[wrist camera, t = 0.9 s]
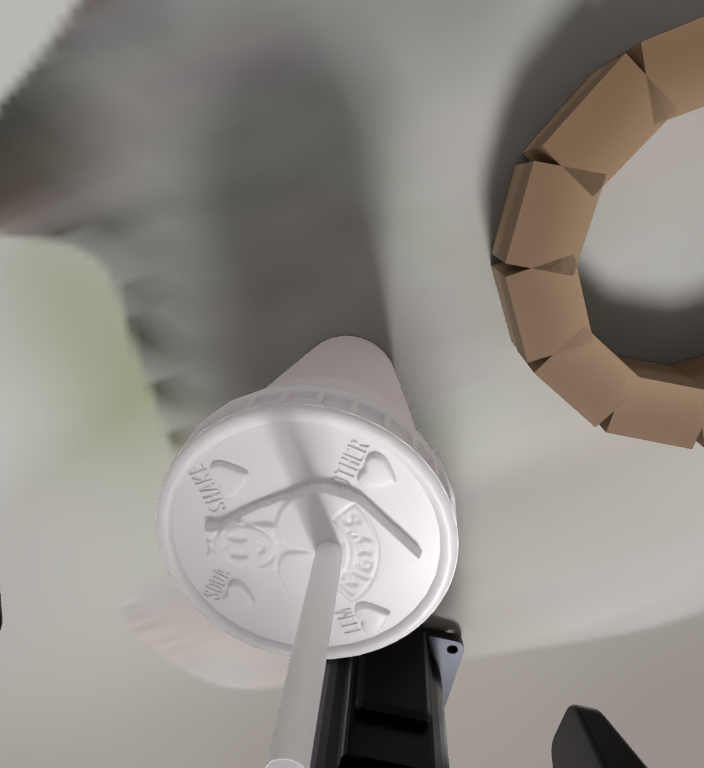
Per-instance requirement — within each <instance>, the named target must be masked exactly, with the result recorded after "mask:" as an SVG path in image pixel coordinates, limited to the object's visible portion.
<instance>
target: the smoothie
mask: <svg viewBox="0 0 704 768" xmlns="http://www.w3.org/2000/svg"><path fill="white" fill-rule="evenodd" d="M156 534H157V539H158V544H159V548H160V551H161V555H162V558H163V560H164V563H165V565H166V567H167V570H168V572H169V573H170V575H171V577H172V579H173V581H174V582H175V584H176V585H177V587H178V588H179V590H180V591H181V592H182V594H183V595H184V596H185V597H186V598H187V600H188V601H189V602H190V603H191V604H192V605H193V606H194V607H195V608H196V609H197V610H198V611H199V612H200V613H201V614H202V615H203V616H204V617H205V618H206V619H208V620H209V621H210V622H212V623H213V624H214V625H216V626H217V627H219V628H220V629H222V630H223V631H225V632H226V633H228V634H229V635H231V636H233V637H235V638H237V639H239V640H241V641H243V642H245V643H247V644H249V645H251V646H254V647H256V648H260V649H263V650H266V651H269V652H272V653H276V654H279V655H284V656H291V659H290V663H289V667H288V671H287V676H286V680H285V684H284V688H283V693H282V697H281V702H280V706H279V710H278V714H277V719H276V723H275V727H274V732H273V736H272V740H271V745H270V749H269V753H268V757H267V761H266V766H265V768H310V762H311V756H312V749H313V743H314V737H315V730H316V724H317V717H318V711H319V704H320V698H321V692H322V685H323V679H324V672H325V666H326V660H327V659H337V658H345V657H351V656H358V655H362V654H365V653H368V652H372V651H375V650H378V649H381V648H383V647H385V646H388V645H390V644H392V643H394V642H396V641H398V640H399V639H401V638H403V637H405V636H406V635H408V634H409V633H411V632H412V631H413V630H415V629H416V628H417V627H418V626H420V625H421V624H422V623H423V622H424V621H425V620H426V619H427V618H428V617H429V616H430V615H431V614H432V613H433V612H434V610H435V609H436V608H437V606H438V605H439V604H440V602H441V601H442V599H443V597H444V596H445V594H446V592H447V590H448V588H449V586H450V583H451V581H452V579H453V575H454V572H455V568H456V564H457V557H458V529H457V522H456V504H455V495H454V493H453V490H452V487H451V485H450V482H449V479H448V477H447V474H446V472H445V469H444V466H443V464H442V462H441V461H440V459H439V458H438V457H437V455H436V454H435V453H434V452H433V450H432V449H431V448H430V446H429V445H428V444H427V442H426V441H425V440H424V438H423V437H422V436H421V434H420V433H419V432H418V431H417V430H416V428H415V425H414V422H413V419H412V417H411V414H410V411H409V408H408V406H407V403H406V400H405V397H404V395H403V392H402V389H401V387H400V384H399V381H398V378H397V376H396V373H395V370H394V367H393V365H392V363H391V361H390V359H389V358H388V356H387V355H386V354H385V353H384V352H383V351H382V350H381V349H380V348H379V347H378V346H376V345H375V344H373V343H372V342H370V341H368V340H365V339H363V338H359V337H355V336H338V337H333V338H330V339H328V340H325V341H323V342H321V343H320V344H318V345H317V346H316V347H314V348H313V349H312V350H311V351H310V352H308V353H307V354H306V355H305V356H304V357H302V358H301V359H300V360H299V361H297V362H296V363H295V364H294V365H293V366H291V367H290V368H289V369H288V370H287V371H285V372H284V373H283V374H282V375H281V376H279V377H278V378H277V379H276V380H274V381H273V382H272V383H271V384H270V385H268V386H267V387H266V388H265V389H262V390H259V391H256V392H254V393H251V394H248V395H245V396H242V397H239V398H237V399H234V400H231V401H229V402H228V403H226V404H225V405H224V406H222V407H221V408H220V409H218V410H217V411H215V412H214V413H213V414H211V415H210V416H208V417H207V418H206V419H204V420H203V421H201V422H200V423H199V425H198V426H197V427H196V429H195V430H194V431H193V433H192V434H191V435H190V437H189V438H188V439H187V441H186V442H185V443H184V445H183V446H182V447H181V449H180V450H179V453H178V455H177V456H176V458H175V459H174V461H173V462H172V463H171V465H170V467H169V469H168V471H167V472H166V474H165V477H164V480H163V482H162V485H161V487H160V491H159V494H158V499H157V505H156Z"/></svg>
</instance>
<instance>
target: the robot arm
mask: <svg viewBox="0 0 704 768" xmlns="http://www.w3.org/2000/svg"><path fill="white" fill-rule="evenodd" d="M1 626H2V608H1V595H0V630H1ZM450 645H454V646H450ZM463 652H464V647H463V641H462V639H461V637H459V636H458V635H456V634H452V633H447V632H442V631H437V630H432V629H427V628H422V627H417V628H416V629H415V630H413V631H412V632H411V633H409V634H408V635H406V636H405V637H403V638H401V639H399V640H398V641H396V642H394V643H392V644H390V645H388V646H385V647H383V648H381V649H378V650H375V651H372V652H368V653H365V654H362V655H358V656H351V657H345V658H337V659H327V660H326V666H325V672H324V679H323V685H322V692H321V698H320V704H319V711H318V717H317V724H316V730H315V737H314V743H313V749H312V756H311V762H310V768H449V761H448V760H449V759H448V748H447V736H446V725H445V713H444V708H445V705H446V702H447V699H448V696H449V693H450V690H451V687H452V684H453V681H454V678H455V675H456V672H457V669H458V667H459V664H460V661H461V658H462V655H463ZM552 762H553V768H647V766H646V765H645V764H644V763H643V762H642V760H641V759H640V758H639V757H638V756H637V754H636V753H635V752H634V751H633V750H632V748H631V747H630V746H629V745H628V744H627V743H626V741H625V740H624V739H623V738H622V737H621V735H620V734H619V733H618V732H617V730H616V729H615V728H614V727H613V726H612V724H611V723H610V722H609V721H608V720H607V719H606V717H605V716H604V715H603V714H602V713H601V712H600V711H598V710H597V709H594V708H589V707H584V706H580V705H571V706H569V707H568V709H567V711H566V712H565V715H564V717H563V719H562V721H561V723H560V725H559V728H558V730H557V732H556V734H555V736H554V739H553V743H552Z"/></svg>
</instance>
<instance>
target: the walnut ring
mask: <svg viewBox="0 0 704 768" xmlns="http://www.w3.org/2000/svg"><path fill="white" fill-rule="evenodd" d="M703 106H704V17H701V18H699V19H696V20H694V21H691V22H689V23H686V24H684V25H682V26H679V27H677V28H674V29H672V30H669V31H667V32H664V33H662V34H659V35H657V36H654V37H652V38H649V39H647V40H644V41H642V42H640V43H638V44H637V45H635V46H634V47H632V48H630V49H629V50H627V51H625V52H624V53H622V54H621V55H619V56H617V57H616V58H614V59H613V60H611V61H609V62H608V63H606V64H605V65H604V66H603V67H602V68H600V69H599V70H597V71H595V72H594V73H592V74H591V75H590V76H589V77H588V78H587V79H586V81H585V82H584V83H583V84H582V85H581V86H580V87H579V88H578V90H577V91H576V92H575V93H574V94H573V95H572V96H571V97H570V99H569V100H568V101H567V102H566V103H565V104H564V105H563V107H562V108H561V109H560V110H559V111H558V112H557V113H556V114H555V116H554V117H553V118H552V119H551V120H550V121H549V122H548V123H547V125H546V126H545V127H544V128H543V129H542V130H541V131H540V133H539V134H538V135H537V136H536V137H535V138H534V139H533V140H532V142H531V143H530V144H529V145H528V146H527V147H526V148H525V149H524V151H523V152H522V154H523V155H524V156H525V157H526V158H527V159H528V160H529V161H530V162H527V163H523V164H518V165H515V167H514V170H513V174H512V178H511V182H510V185H509V189H508V193H507V197H506V200H505V204H504V208H503V212H502V215H501V219H500V223H499V227H498V230H497V234H496V238H495V242H494V245H493V249H492V253H491V254H492V255H494V256H495V257H497V258H498V259H500V260H501V261H503V262H501V263H498V264H495V265H492V266H491V267H492V271H493V274H494V278H495V282H496V285H497V289H498V293H499V296H500V300H501V304H502V307H503V311H504V315H505V319H506V322H507V326H508V330H509V333H510V337H511V341H512V342H513V343H514V345H515V346H516V347H517V349H518V352H519V353H520V354H521V356H522V357H523V358H524V360H525V361H526V362H527V364H528V365H529V367H530V368H531V369H532V371H533V372H534V373H535V374H536V375H537V376H538V377H539V378H541V379H542V380H543V381H544V382H545V383H546V384H547V385H548V386H550V387H551V388H552V389H553V390H554V391H555V392H556V393H557V394H559V395H560V396H561V397H562V398H563V399H564V400H565V401H566V402H568V403H569V404H570V405H571V406H572V407H573V408H574V409H575V410H577V411H578V412H579V413H580V414H581V415H582V416H583V417H584V418H586V419H587V420H588V421H589V422H590V423H591V424H592V425H593V426H595V427H596V426H597V425H598V424H599V425H600V426H601V427H602V428H603V429H604V430H605V432H607V433H612V434H617V435H622V436H627V437H632V438H638V439H643V440H648V441H653V442H658V443H663V444H668V445H673V446H679V447H684V448H689V449H692V448H693V446H694V444H695V442H696V441H697V442H698V443H699V444H700V445H702V446H703V447H704V355H702V356H699V357H695V358H692V359H688V360H685V361H681V362H678V363H674V364H671V365H665V364H660V363H655V362H650V361H645V360H639V359H634V358H629V357H624V356H619V355H615V354H614V353H613V352H611V351H610V350H609V349H608V348H607V347H606V346H605V345H604V344H603V343H602V342H601V341H600V340H599V339H598V338H596V337H595V336H594V335H593V334H592V333H591V328H590V324H589V319H588V315H587V310H586V306H585V301H584V296H583V292H582V287H581V283H580V278H579V274H578V269H577V262H578V259H579V256H580V253H581V250H582V247H583V244H584V241H585V238H586V235H587V232H588V229H589V226H590V223H591V220H592V216H593V213H594V210H595V207H596V204H597V201H598V198H599V195H600V192H601V189H602V187H603V186H604V185H605V184H606V183H607V182H608V180H609V179H610V178H611V177H612V176H613V175H614V174H615V173H616V172H617V171H618V170H619V169H620V168H621V167H622V166H623V165H624V164H625V163H626V162H627V161H628V160H629V159H630V158H631V157H632V156H633V155H634V154H635V153H636V152H637V151H638V150H639V148H640V147H641V146H642V145H643V144H644V143H645V142H646V141H647V140H648V139H649V138H650V137H651V136H652V135H653V134H654V133H655V132H656V131H657V130H658V129H659V128H660V127H661V126H662V125H663V124H664V123H665V122H666V121H667V120H668V119H671V118H673V117H676V116H679V115H682V114H684V113H687V112H690V111H692V110H695V109H698V108H700V107H703Z"/></svg>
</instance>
